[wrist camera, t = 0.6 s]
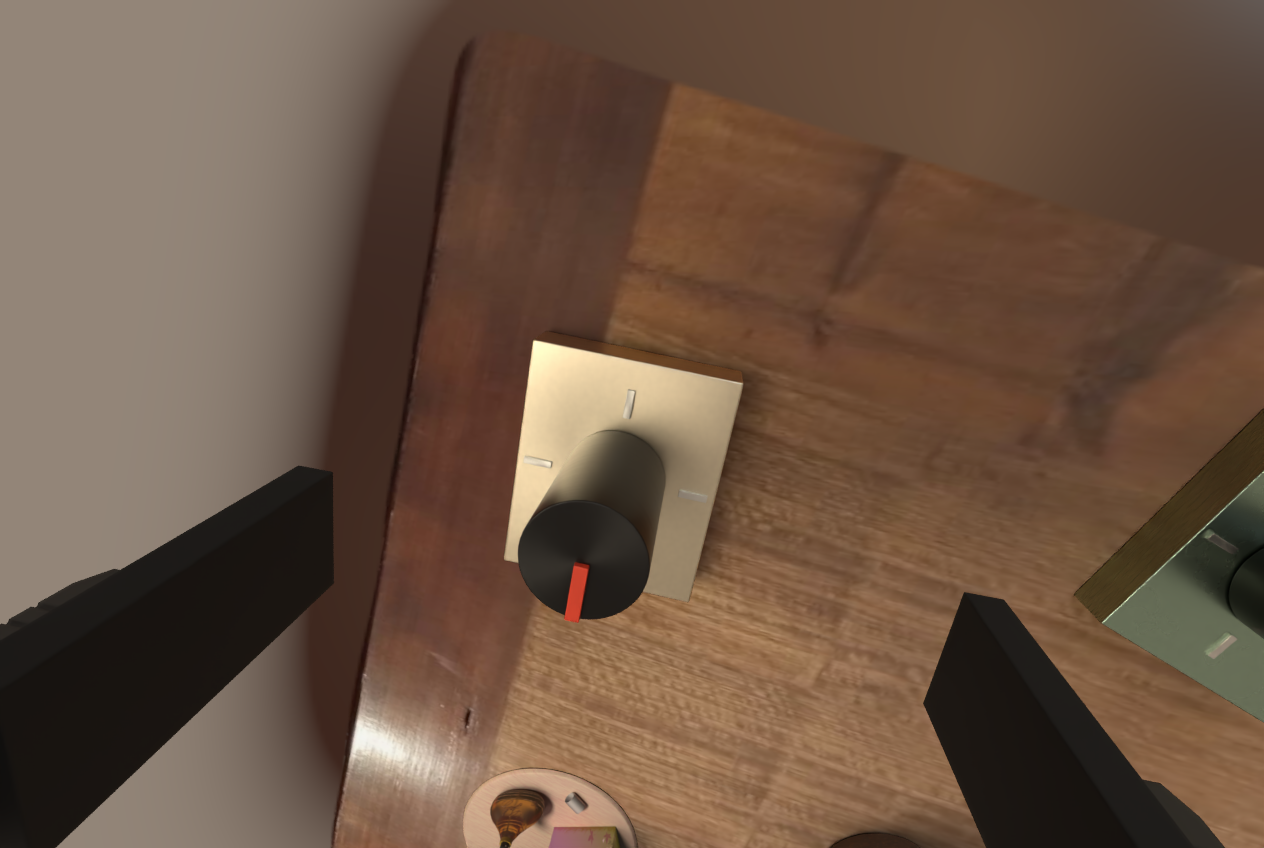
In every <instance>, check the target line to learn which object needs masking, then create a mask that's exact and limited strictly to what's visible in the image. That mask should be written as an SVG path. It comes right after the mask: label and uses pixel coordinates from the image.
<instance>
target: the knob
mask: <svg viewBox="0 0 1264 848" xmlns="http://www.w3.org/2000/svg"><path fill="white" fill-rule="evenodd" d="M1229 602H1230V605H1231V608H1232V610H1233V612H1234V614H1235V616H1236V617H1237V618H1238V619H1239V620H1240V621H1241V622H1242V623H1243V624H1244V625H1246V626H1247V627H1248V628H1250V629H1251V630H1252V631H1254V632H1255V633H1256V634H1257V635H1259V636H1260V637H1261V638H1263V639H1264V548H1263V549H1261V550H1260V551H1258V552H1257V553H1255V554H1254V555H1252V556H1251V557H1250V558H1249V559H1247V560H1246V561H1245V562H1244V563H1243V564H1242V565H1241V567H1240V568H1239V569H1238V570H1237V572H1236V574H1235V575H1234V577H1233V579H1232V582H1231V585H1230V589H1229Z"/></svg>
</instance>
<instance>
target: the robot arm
mask: <svg viewBox="0 0 1264 848" xmlns="http://www.w3.org/2000/svg"><path fill="white" fill-rule="evenodd" d="M333 567H334V564H333V473H332V472H330V471H325V470H319V469H314V468H309V467H303V466H297V467H295V468H294V469H292V470H290V471H289V472H287V473H285V474H283V475H282V476H280V477H278V478H277V479H275V480H273V481H271V482H270V483H268V484H266V485H265V486H263V487H261V488H260V489H258V490H256V491H254V492H253V493H251V494H249V495H248V496H246V497H244V498H242V499H241V500H239V501H237V502H236V503H234V504H232V505H231V506H229V507H227V508H225V509H224V510H222V511H220V512H218V513H217V514H215V515H213V516H212V517H210V518H208V519H207V520H205V521H203V522H202V523H200V524H198V525H196V526H195V527H193V528H191V529H189V530H188V531H186V532H184V533H183V534H181V535H179V536H177V537H176V538H174V539H173V540H171V541H169V542H167V543H166V544H164V545H162V546H160V547H159V548H157V549H155V550H154V551H152V552H150V553H149V554H147V555H145V556H144V557H142V558H140V559H139V560H137V561H135V562H133V563H131V564H130V565H128V566H126V567H125V568H123V569H121V570H117V569H112V570H110V571H107V572H104V573H101V574H98V575H96V576H92V577H89V578H87V579H84V580H81V581H78V582H75V583H73V584H71V585H69V586H67V587H65V588H64V589H62V590H60V591H58V592H57V593H55V594H53V595H51V596H50V597H48V598H46V599H44V600H42V601H41V602H39V603H38V606H37V607H36V608H34V607H30V608H28V609H26V610H25V611H23V612H21V613H19V614H18V615H16V616H14V617H12V618H11V619H9V621H8V623H7V624H6V625H5V624H0V848H56V847H57V846H58V845H59V844H60V843H61V842H62V841H63V840H64V839H65V838H66V837H67V836H68V835H69V834H70V833H71V832H72V831H74V829H76V828H77V827H78V826H79V825H80V824H81V823H82V822H83V821H84V820H85V819H86V818H87V817H88V816H89V815H90V814H91V813H93V812H94V811H95V810H96V809H97V808H98V807H99V806H100V805H101V804H102V803H103V802H104V801H105V800H106V799H107V798H108V797H109V796H110V795H112V794H113V793H114V792H115V791H116V790H117V789H118V788H119V787H120V786H121V785H122V784H123V783H124V782H125V781H126V780H127V779H128V778H129V777H130V776H132V775H133V774H134V773H135V772H136V771H137V770H138V769H139V768H140V767H141V766H142V765H143V764H144V763H145V762H146V761H147V760H148V759H149V758H150V757H152V756H153V755H154V754H155V753H156V752H157V751H158V750H159V749H160V748H161V747H162V746H163V745H164V744H165V743H166V742H167V741H168V740H169V739H170V738H172V737H173V735H175V734H176V733H177V732H178V731H179V730H180V729H181V728H182V727H183V726H184V725H185V724H186V723H187V722H188V721H189V720H190V719H191V718H193V716H195V715H196V714H197V713H198V712H199V711H200V710H201V709H202V708H203V707H204V706H205V705H206V704H207V703H208V702H209V701H210V700H211V699H213V697H215V696H216V695H217V694H218V693H219V692H220V691H221V690H222V689H223V688H224V687H225V686H226V685H227V684H228V683H229V682H230V681H231V680H233V678H234V677H236V675H238V674H239V673H240V672H241V671H242V670H243V669H244V668H245V667H246V666H247V665H248V664H249V663H250V662H251V661H252V660H253V659H255V658H256V657H257V656H258V655H259V654H260V653H261V652H262V651H263V650H264V649H265V648H266V647H267V646H268V645H269V644H270V643H271V642H273V641H274V640H275V639H276V638H277V637H278V636H279V635H280V634H281V633H282V632H283V631H284V630H285V629H286V628H287V627H288V626H289V625H290V624H291V623H293V621H294V620H296V619H297V618H298V617H299V616H300V615H301V614H302V613H303V612H304V611H305V610H306V609H307V608H308V607H309V606H310V605H311V604H312V603H314V602H315V601H316V599H318V598H319V597H320V596H321V595H322V594H323V593H324V592H325V591H326V590H327V589H328V588H329V587H330V586H331V585H332V584H333V583H334V568H333ZM923 704H924V706H925V708H926V711H927V713H928V715H929V718H930V720H931V722H932V724H933V727H934V729H935V731H936V734H937V736H938V738H939V740H940V743H941V745H942V747H943V750H944V752H945V754H946V757H947V759H948V761H949V763H950V766H951V768H952V770H953V773H954V775H955V777H956V779H957V782H958V784H959V786H960V789H961V791H962V793H963V796H964V798H965V800H966V802H967V805H968V807H969V809H970V812H971V814H972V816H973V818H974V821H975V823H976V825H977V828H978V830H979V832H980V834H981V837H982V839H983V841H984V844H985V846H986V848H1225V847H1224V846H1223V845H1222V843H1221V842H1220V841H1219V840H1218V839H1217V837H1216V836H1215V835H1214V834H1213V832H1212V831H1211V830H1210V829H1209V828H1208V826H1207V825H1206V824H1205V823H1204V821H1203V820H1202V819H1201V818H1200V817H1199V816H1198V815H1197V814H1196V813H1194V812H1193V811H1192V810H1191V809H1190V808H1189V807H1187V806H1186V805H1185V804H1184V803H1183V802H1182V801H1180V800H1179V799H1178V798H1177V797H1176V796H1175V795H1173V794H1172V793H1171V792H1170V791H1169V790H1167V789H1166V788H1165V787H1164V786H1163V785H1162V784H1160V783H1156V782H1152V781H1147V780H1142V779H1141V777H1140V776H1139V775H1138V773H1137V772H1136V771H1135V769H1134V768H1133V767H1132V766H1131V764H1130V763H1129V762H1128V760H1127V759H1126V758H1125V756H1124V755H1123V754H1122V753H1121V751H1120V750H1119V749H1118V747H1117V746H1116V745H1115V743H1114V742H1113V741H1112V740H1111V738H1110V737H1109V736H1108V734H1107V733H1106V732H1105V730H1104V729H1103V728H1102V727H1101V725H1100V724H1099V723H1098V721H1097V720H1096V719H1095V717H1094V716H1093V715H1092V714H1091V712H1090V711H1089V710H1088V708H1087V707H1086V706H1085V704H1084V703H1083V702H1082V701H1081V699H1080V698H1079V697H1078V695H1077V694H1076V693H1075V691H1074V690H1073V689H1072V688H1071V686H1070V685H1069V684H1068V682H1067V681H1066V680H1065V678H1064V677H1063V676H1062V675H1061V673H1060V672H1059V671H1058V669H1057V668H1056V667H1055V665H1054V664H1053V663H1052V662H1051V660H1050V659H1049V658H1048V656H1047V655H1046V654H1045V652H1044V651H1043V650H1042V649H1041V647H1040V646H1039V645H1038V643H1037V642H1036V641H1035V639H1034V638H1033V637H1032V636H1031V634H1030V633H1029V632H1028V630H1027V629H1026V628H1025V626H1024V625H1023V624H1022V623H1021V621H1020V620H1019V619H1018V617H1017V616H1016V615H1015V613H1014V612H1013V611H1012V610H1011V608H1010V607H1009V606H1008V604H1007V603H1006V602H1005V601H1004V600H1003V599H997V598H992V597H987V596H982V595H976V594H971V593H966V592H964V594H963V597H962V599H961V602H960V605H959V607H958V610H957V613H956V616H955V618H954V621H953V624H952V627H951V629H950V632H949V635H948V637H947V640H946V643H945V646H944V648H943V651H942V654H941V657H940V659H939V662H938V665H937V667H936V670H935V673H934V676H933V678H932V681H931V684H930V687H929V689H928V692H927V695H926V697H925V700H924V703H923Z"/></svg>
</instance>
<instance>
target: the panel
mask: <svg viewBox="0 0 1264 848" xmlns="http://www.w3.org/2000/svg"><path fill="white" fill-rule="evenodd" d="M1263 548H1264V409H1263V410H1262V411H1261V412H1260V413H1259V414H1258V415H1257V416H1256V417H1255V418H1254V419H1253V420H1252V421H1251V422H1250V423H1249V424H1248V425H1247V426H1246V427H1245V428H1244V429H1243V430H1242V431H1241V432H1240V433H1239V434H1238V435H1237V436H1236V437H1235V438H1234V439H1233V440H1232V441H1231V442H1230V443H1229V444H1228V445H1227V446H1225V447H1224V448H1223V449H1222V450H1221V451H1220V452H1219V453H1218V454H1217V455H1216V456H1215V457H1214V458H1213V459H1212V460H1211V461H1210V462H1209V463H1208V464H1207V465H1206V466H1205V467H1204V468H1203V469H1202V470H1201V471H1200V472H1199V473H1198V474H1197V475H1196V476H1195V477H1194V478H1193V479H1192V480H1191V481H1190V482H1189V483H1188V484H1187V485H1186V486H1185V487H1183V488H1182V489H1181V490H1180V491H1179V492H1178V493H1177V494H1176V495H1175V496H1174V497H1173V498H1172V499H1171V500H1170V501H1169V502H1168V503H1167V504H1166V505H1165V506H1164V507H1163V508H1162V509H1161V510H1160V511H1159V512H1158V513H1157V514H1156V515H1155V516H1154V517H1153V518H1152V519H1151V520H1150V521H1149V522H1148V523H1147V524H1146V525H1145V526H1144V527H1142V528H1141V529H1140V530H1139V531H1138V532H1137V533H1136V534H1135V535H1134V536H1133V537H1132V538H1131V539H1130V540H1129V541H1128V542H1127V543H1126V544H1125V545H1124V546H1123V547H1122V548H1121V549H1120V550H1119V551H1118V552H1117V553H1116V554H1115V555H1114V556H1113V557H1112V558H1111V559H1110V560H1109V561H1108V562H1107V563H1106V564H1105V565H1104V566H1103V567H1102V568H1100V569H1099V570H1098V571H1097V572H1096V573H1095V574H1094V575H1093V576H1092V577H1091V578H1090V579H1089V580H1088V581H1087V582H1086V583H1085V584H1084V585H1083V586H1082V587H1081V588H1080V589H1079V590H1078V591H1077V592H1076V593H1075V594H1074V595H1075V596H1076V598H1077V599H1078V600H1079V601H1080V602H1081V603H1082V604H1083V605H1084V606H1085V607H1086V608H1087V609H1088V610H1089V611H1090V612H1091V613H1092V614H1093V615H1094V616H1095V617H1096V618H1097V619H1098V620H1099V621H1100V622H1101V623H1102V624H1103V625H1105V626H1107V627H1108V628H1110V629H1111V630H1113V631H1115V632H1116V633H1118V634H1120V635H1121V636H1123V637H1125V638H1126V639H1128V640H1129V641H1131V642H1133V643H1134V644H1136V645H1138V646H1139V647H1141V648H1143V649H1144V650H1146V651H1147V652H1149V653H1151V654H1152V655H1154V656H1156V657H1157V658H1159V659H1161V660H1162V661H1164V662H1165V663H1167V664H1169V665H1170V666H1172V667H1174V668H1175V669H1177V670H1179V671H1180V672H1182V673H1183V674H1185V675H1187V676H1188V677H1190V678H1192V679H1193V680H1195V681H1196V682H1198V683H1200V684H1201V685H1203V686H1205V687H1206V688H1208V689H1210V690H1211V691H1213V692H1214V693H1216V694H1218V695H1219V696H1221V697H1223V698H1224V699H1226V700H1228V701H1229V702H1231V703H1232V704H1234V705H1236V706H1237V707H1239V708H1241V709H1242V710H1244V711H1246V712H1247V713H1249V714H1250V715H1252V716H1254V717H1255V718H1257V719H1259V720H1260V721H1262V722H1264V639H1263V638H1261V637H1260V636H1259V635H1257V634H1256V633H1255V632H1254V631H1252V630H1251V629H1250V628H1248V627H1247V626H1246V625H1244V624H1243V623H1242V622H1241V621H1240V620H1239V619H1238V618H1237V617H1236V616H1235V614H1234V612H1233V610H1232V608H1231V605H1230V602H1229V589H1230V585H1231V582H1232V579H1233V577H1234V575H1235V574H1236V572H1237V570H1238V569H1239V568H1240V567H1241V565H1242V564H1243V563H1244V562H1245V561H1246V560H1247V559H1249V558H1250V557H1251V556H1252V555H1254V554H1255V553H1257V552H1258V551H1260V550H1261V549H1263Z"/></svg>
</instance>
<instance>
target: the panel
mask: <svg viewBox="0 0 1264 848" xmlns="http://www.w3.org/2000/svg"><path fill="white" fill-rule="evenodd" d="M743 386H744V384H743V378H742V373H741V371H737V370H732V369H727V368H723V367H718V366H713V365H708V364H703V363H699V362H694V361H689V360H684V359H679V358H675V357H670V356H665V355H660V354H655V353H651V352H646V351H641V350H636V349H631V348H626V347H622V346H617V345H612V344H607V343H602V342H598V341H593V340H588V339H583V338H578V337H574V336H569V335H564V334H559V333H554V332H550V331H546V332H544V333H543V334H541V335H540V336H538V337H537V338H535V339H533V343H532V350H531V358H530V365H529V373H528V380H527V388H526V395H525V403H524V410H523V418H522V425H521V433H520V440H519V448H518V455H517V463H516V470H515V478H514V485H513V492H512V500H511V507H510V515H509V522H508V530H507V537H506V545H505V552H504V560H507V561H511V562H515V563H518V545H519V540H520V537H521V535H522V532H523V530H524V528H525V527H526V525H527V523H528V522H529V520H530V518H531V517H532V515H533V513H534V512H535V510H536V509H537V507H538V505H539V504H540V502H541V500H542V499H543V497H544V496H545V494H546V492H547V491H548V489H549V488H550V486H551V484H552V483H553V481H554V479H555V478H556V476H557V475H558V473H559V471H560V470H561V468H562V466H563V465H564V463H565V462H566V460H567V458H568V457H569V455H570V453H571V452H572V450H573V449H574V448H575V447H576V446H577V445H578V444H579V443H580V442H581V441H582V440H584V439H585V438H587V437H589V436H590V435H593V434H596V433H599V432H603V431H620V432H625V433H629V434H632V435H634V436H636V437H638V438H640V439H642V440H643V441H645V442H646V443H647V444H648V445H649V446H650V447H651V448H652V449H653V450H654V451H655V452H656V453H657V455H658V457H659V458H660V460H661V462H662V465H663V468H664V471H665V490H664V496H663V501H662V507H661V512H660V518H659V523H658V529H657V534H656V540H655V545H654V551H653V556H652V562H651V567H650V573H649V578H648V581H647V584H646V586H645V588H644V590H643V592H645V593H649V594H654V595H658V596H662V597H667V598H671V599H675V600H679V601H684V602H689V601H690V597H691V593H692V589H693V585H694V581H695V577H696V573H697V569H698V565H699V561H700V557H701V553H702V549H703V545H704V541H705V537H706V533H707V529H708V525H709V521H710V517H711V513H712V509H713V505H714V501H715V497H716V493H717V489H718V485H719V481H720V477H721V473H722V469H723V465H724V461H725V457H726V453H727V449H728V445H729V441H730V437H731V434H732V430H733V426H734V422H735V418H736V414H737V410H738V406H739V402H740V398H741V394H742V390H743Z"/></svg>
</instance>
